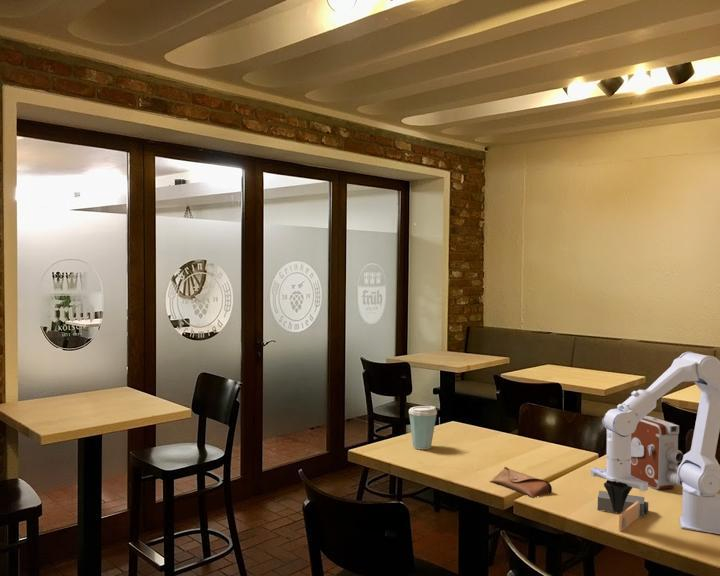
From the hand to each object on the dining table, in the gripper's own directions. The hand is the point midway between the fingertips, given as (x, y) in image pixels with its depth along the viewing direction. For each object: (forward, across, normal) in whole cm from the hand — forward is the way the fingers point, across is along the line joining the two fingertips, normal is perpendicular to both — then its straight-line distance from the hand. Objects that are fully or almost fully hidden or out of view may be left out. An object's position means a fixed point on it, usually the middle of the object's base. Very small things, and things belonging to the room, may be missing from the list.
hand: (617, 511), depth 157 cm
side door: (+4, +1, +5) cm, 6 cm away
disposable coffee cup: (+4, -83, +7) cm, 83 cm away
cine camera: (+5, -12, +40) cm, 42 cm away
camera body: (+4, -6, +12) cm, 14 cm away
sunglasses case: (+5, -34, +3) cm, 35 cm away
